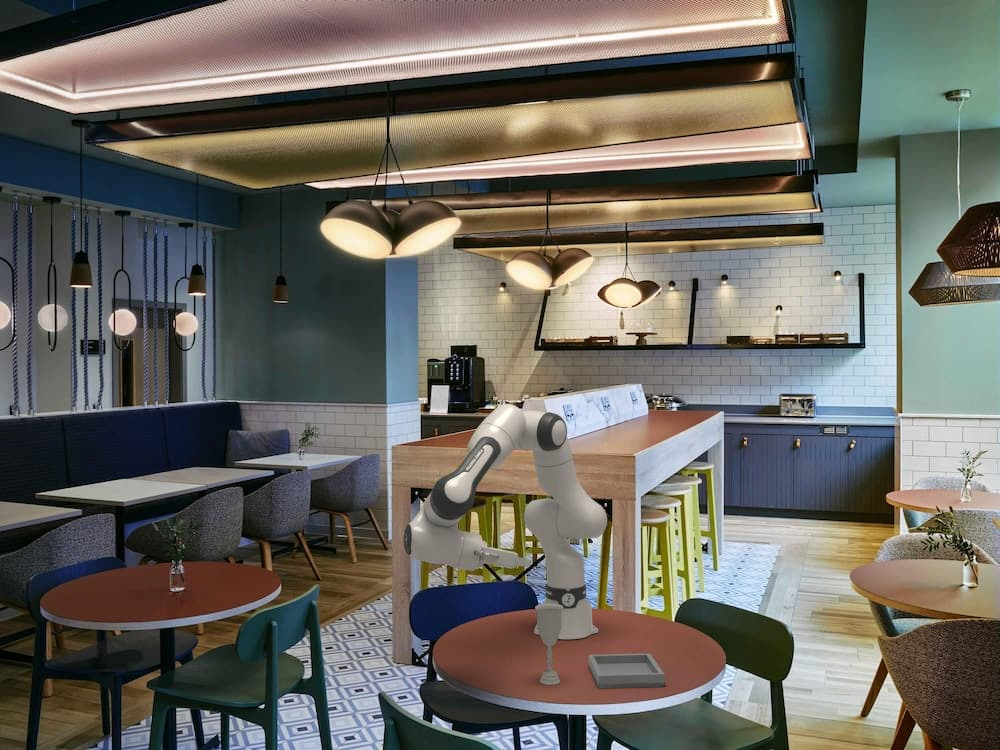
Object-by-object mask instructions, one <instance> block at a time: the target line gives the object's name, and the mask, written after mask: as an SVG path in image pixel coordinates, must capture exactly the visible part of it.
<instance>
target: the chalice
mask: <svg viewBox="0 0 1000 750" xmlns="http://www.w3.org/2000/svg"><path fill="white" fill-rule="evenodd" d="M534 609H535V611H536V621H537V622H536V625H537V628H538V631H539V634H540V635H539V637H540V638H541V640H542V642H543V644H544V646H546V647H547V651H546V653H545V654H546V655H547V660H546V661H545V662H546V663H547V668H546V670H544V671H543V672H542V675H541V678H540V679H539V683H541V684H543V685H548V686H549V685H550V686H551V685H557V684H560V683H561V680H560V678H559V675H558V672H557V671H556V670H554V668H553V666H552V665H553V662H554V660H553V658H552V656H553V653H554V652H553V650H552V647H553V646H555V644H556V643H557V641H558V640H559V639H558V636H559V634H560V631H561V628H562V616H561V612H562V609H563V606H562V605H559V604H543V603H542V604H537V605H535V608H534Z"/></svg>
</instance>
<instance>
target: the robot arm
mask: <svg viewBox="0 0 1000 750" xmlns="http://www.w3.org/2000/svg"><path fill="white" fill-rule="evenodd" d="M567 427H568V426H567V424H566V421H565V420H564V418H563V417H562V416H561V415H559V414H557V413H553V412H550V411H549V412H546V411H539V410H534V409H533V410H531V409H529V410H521V408H519V407H518V406H517V405H514V404H511V403H505V404H504V403H503V404H500V405H498V406H497V407H495V409H494V410H493V411H491V412H490V413H489V414H488V415H487V416H486V417H485V418H484V419H483V420H482V422H481V423H480V424H479V425H478V427H477V428H476V429H475V431H473V434H472V436H471V437H470V439H469V442H467V443H468V444H467V446H466V450H467V456H466V457H465V458H464V459H463V461H462V462H461V463H460V465H459V466H458V467H457V468H456V469H455V470H454V471H452V472H450V473H447V474H446V475H444V476H443V477H440V478H439V479H438V480H437V481H436V482H435V484H434V486H433V488H432V489H431V492H430V493H429V495H428V496H427V497H426V499H425V500H424V502H423V504H422V505H421V508H420V510H419V511H418V512H417V514H416V515H415V516H414V518H413V519H412V520H411V521H410V522H409V523H408V524H406V527H405V528H404V534H403V548H404V551H405V552H406V554H407V555H408V556H409V557H411V558H414V559H416V560H418V561H422V562H425V563H429V564H434V565H448V566H449V567H451V568H454V569H459V570H463V571H464V570H465V571H469V572H475V571H476V569H477V568H482V567H483V566H484V564H485V565H495V566H499V567H504V568H510V569H515V568H516V567H525V568H530V567H531V563H532V561H531V560H530V559H528V558H524V557H521V556H519V553H517V552H515V551H512V550H511V551H510V550H505V549H500V548H496V547H489V546H488V543H487V541H485V540H483V537H482V535H481V534H478V533H474V532H469V531H465V530H464V531H463V530H460V529H459V528H458V527H459V522H460V521H461V519H462V518H463V517H464V516H465V515H466V514H467V513H468V512H469V511H470V510H471V509H472V508H473V505H474V502H475V498H476V492H477V487H478V485H479V484H480V482H481V481H482V480H483V478H484V477H485V475H486V474H487V472H488V471H489V470H496V469H497V468H498V467H500V466H501V465H502V464H503V463H504V462H505V461H506V460H507V459H508V458H509V456H510V455H511V454H512V453H513V451H514V449H515V450H520V451H532V455H533V461H534V466H535V471H536V477H537V481H538V484H539V487H540V489H541V490H542V491H543V492H544V493H545V494H547V495H549V496H550V497H551V498H538V499H535V500H531V501H530V502H529V503H528V504H527V506H526V508H525V510H524V516H523V520H524V525H525V526H526V529H528V531H529V532H531V533H532V535H534V537H535V538H536V539H537V540H538V542H539V544H540V546H541V548H542V551H543V554H544V557H545V558H544V559H545V566H546V568H545V569H546V583H545V589H544V592H545V593H544V595H545V599H544V602H542V604H559V605H562V606H563V609H562V612H561V616H562V628H561V631H560V634H559V636H558V639H557V640H576V639H577V640H578V639H579V640H580V639H583V638H587V637H590V636H591V635H594V634H598V633H599V629H598V627H596V626H595V625H594V624H593V610H592V604H591V602H590V601H588V600H587V598H586V597H587V585H586V583H585V560H584V558H583V555H582V554H581V553H580V552H579V551H577V550H576V549H574V548H573V547H572V545H571V544H570V542H569V539H575V540H576V539H579V540H587V539H590V540H591V539H595V538H599V537H601V536H602V535H603V534H604V532H605V530H606V528H607V525H608V517H607V516H608V515H607V513H606V511H605V510H606V509H604V507H603V506H602V505H601V504H599V503H598V502H596V501H595V500H594V499H593V498H591V497H590V496H589V495H588V493H587V492H586V490H585V489H584V488H583V486H582V485H581V482H580V481H579V478H578V474H577V472H576V469H575V463H574V457H573V453H572V448H571V444H570V442H569V438H568V436H567V435H568V429H567ZM568 538H569V539H568ZM533 633H534V634H535V635H539V636H540V634H539V631H538V628H537V624H536V625H535V627H534V631H533Z"/></svg>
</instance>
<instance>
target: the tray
mask: <svg viewBox="0 0 1000 750" xmlns="http://www.w3.org/2000/svg"><path fill="white" fill-rule="evenodd" d="M587 657H588V659H587V660H588V662H587V663H588V664H587V665H588V669H589V670H590V673H591V675H592V677H593V679H594V682H595V683H596V686H597V688H598V689H599V688H600V689H627V688H629V689H630V688H631V689H632V688H633V689H634V688H635V689H636V688H637V689H638V688H665V687H666V676H665V675H666V673H664V671H663V669H662V668H661V667H660V666H659V664H658V663H657V661H656V660H655V659H654V657H653V656H652V654H651V653H650V652H648V653H611V654H609V653H608V654H607V653H606V654H588V655H587Z"/></svg>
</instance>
